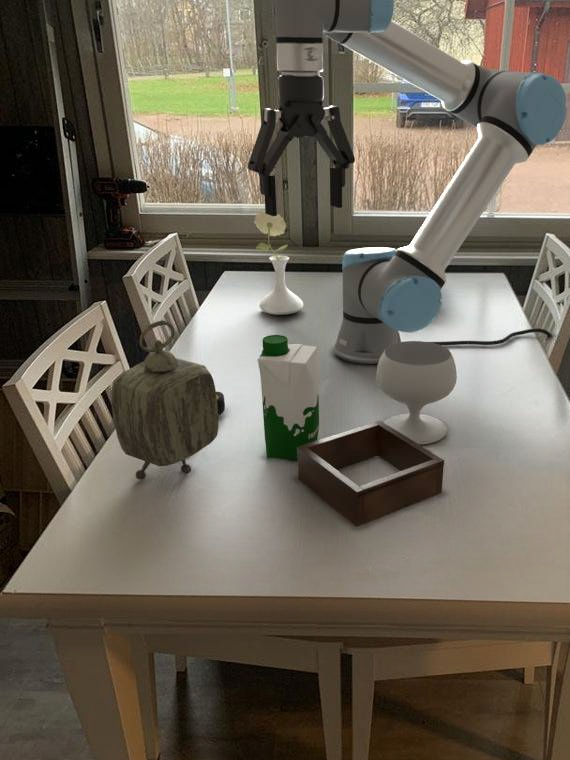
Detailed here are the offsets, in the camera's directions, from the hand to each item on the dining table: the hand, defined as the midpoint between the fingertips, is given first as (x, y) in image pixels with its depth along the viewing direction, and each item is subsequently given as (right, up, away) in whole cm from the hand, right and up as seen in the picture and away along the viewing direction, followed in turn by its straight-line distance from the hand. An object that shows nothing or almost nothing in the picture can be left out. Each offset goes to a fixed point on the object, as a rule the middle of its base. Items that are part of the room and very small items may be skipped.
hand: (304, 210), depth 130 cm
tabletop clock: (-20, -46, -10) cm, 52 cm away
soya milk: (-2, -43, -4) cm, 43 cm away
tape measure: (-19, -35, +8) cm, 41 cm away
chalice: (+20, -39, +3) cm, 44 cm away
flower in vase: (-11, -4, +61) cm, 62 cm away
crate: (+11, -49, -14) cm, 52 cm away
